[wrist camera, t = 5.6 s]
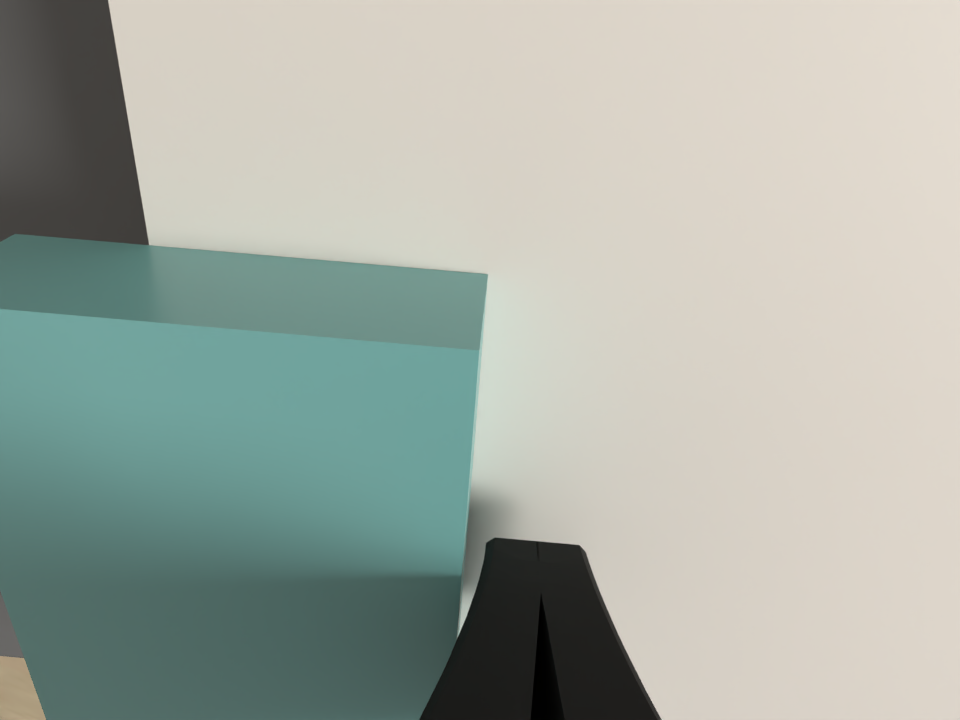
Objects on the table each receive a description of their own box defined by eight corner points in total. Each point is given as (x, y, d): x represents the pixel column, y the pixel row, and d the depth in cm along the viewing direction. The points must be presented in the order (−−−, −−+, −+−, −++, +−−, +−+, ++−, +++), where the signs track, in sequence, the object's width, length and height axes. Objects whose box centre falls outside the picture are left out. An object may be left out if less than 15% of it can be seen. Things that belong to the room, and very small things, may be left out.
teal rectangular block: (452, 721, 14) (441, 835, 12) (133, 692, 14) (75, 801, 12) (487, 273, 9) (479, 350, 7) (14, 234, 9) (-105, 300, 7)
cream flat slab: (817, 743, 20) (880, 915, 16) (299, 696, 20) (252, 856, 16) (1254, -170, 10) (1659, -237, 6) (216, -243, 10) (49, -347, 6)
